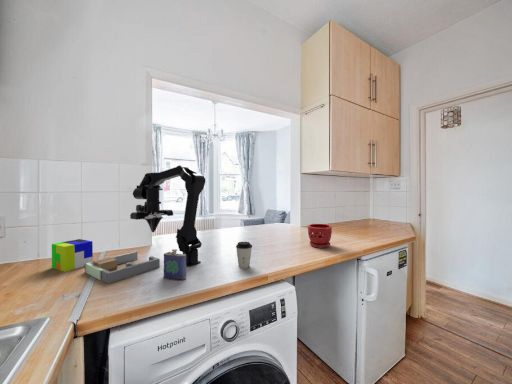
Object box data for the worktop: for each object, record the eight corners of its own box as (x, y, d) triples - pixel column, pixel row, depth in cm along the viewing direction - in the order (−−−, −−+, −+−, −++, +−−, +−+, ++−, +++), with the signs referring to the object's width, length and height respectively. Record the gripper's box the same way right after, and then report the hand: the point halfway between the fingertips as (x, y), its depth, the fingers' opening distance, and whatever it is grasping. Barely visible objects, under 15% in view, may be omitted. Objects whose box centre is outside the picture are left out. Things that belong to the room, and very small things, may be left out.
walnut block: (117, 272, 87) (116, 259, 87) (99, 277, 82) (99, 263, 82) (110, 269, 90) (109, 257, 90) (92, 273, 85) (92, 260, 85)
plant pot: (307, 242, 134) (307, 223, 134) (329, 243, 132) (330, 223, 132) (308, 248, 122) (308, 226, 121) (333, 249, 119) (333, 227, 119)
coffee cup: (255, 265, 95) (255, 242, 94) (247, 270, 88) (247, 245, 88) (241, 262, 98) (241, 240, 98) (232, 267, 92) (232, 243, 92)
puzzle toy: (92, 264, 96) (92, 241, 96) (65, 272, 87) (64, 246, 87) (79, 260, 100) (79, 239, 100) (51, 268, 91) (51, 244, 91)
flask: (187, 278, 81) (187, 249, 81) (182, 281, 78) (182, 251, 78) (166, 275, 84) (166, 247, 83) (161, 278, 81) (160, 249, 81)
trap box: (160, 266, 93) (160, 258, 92) (107, 283, 76) (107, 273, 76) (136, 258, 103) (136, 251, 103) (84, 272, 87) (84, 263, 87)
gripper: (160, 198, 118) (160, 227, 118) (124, 199, 102) (124, 233, 102) (173, 199, 111) (173, 229, 112) (136, 200, 96) (137, 236, 96)
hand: (153, 232), depth 106 cm, fingers closed
